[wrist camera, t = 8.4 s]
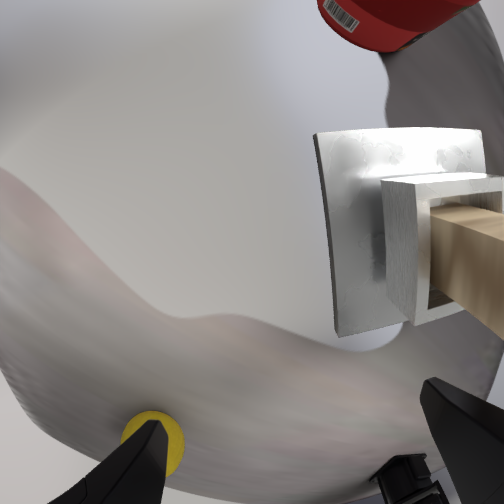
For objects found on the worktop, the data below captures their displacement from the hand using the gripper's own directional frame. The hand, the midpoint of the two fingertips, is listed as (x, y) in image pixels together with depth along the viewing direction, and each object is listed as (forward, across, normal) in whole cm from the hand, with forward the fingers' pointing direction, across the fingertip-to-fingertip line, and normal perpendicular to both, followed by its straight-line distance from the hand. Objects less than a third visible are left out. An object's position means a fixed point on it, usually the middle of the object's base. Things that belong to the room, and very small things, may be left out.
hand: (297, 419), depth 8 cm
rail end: (+9, -11, -2) cm, 15 cm away
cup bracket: (+12, -11, -2) cm, 17 cm away
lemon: (+12, +12, +12) cm, 21 cm away
